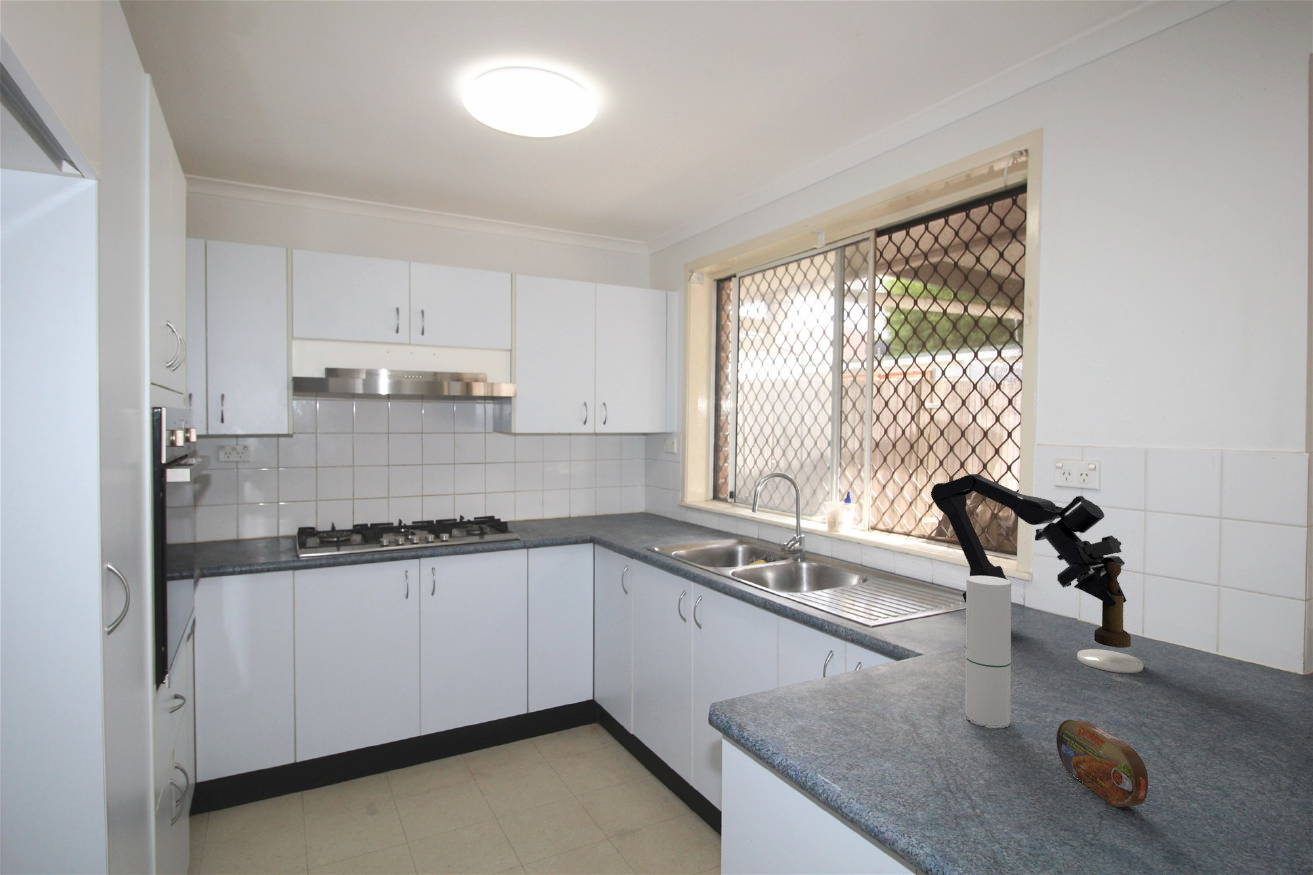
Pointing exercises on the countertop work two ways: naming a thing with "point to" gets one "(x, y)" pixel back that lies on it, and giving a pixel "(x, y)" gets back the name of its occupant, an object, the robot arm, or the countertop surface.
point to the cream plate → (1110, 661)
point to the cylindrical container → (988, 649)
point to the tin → (1102, 763)
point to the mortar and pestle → (1113, 614)
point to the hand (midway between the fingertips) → (1119, 603)
